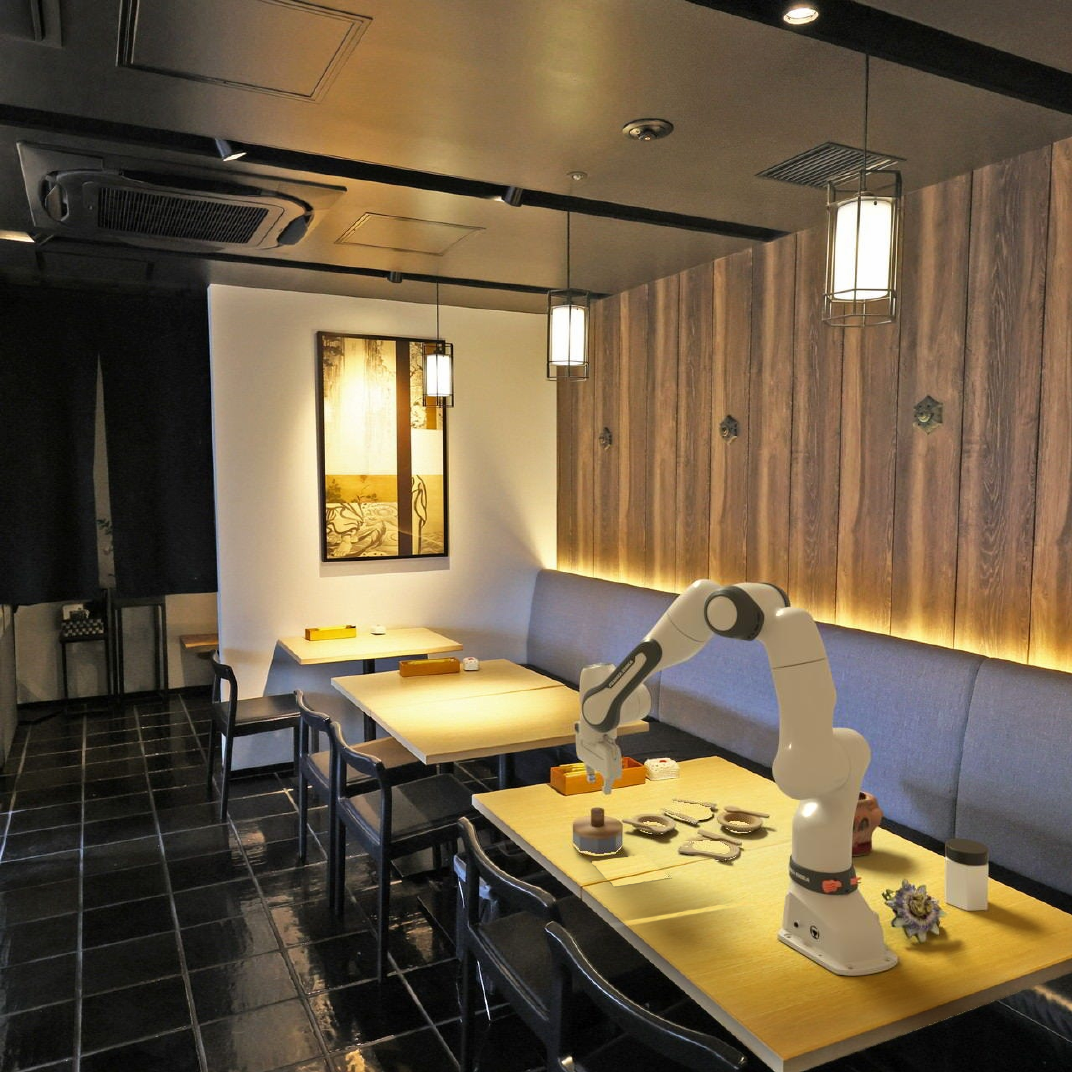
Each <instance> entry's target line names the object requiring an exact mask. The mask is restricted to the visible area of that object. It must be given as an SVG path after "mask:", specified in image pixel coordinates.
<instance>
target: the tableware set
mask: <svg viewBox="0 0 1072 1072" xmlns="http://www.w3.org/2000/svg"><path fill="white" fill-rule="evenodd" d="M677 799H679V800H677ZM672 800H673V801H678V802H684V803H690V804H700V805H702V806H705V807H711V809H716V807H717V805H718V804H717V803H713V802H697V801H692V800H686V799H680V798H672V799H671V801H672ZM659 810H663V811H665V812H668V813H669V814H671V815H676V816H678V817H680V818H682V819H685V820H688V821H690V822H693V823H694V824H695V823H699V821H698V820H696V819H694V818H692V817H689V816H687V815H684V814H681V813H679V814H678V813H674V812H672V811H670V810H667V809H665V808H664V807H661V808H660V809H659ZM723 810H724V811H723V812H720V813H719V814H718V815H716V821H717V823H719V824H720V825H721V826H723V827H726V828H728V829H729V830H733V831H737V832H749V831H752V830H753V831H754V830H756V829H759V828H760V827H762V826H763V818H764V819H769V818H771V817H770V816H771V815H770V814H768V813H763V812H760V811H759V812H758V811H753V810H747V809H742V808H740V807H737V806H734V805H725V806H723ZM621 821H622V822H621V823H622V824H627V825H630V826H632V827H633V828H635V829H637V830H638V829H639V830H642V831H645V832H648V833H652V834H661V833H665V832H667V831H668V832H670V831H672V830H674V829H675V828H676V827H677V822H676V821H675V819H674V818H671V817H669V816H668V815H663V814H657V813H641V814H637V815H634V816H632V817H631V818H630V819H629V818H622V819H621ZM647 821H649V822H657V823H660V824H662V825H665V826H666V827H663V826H657V825H648V824H644V823H643V822H647ZM730 821H740V822H745V823H747V824H749V825H737V824H732V823H729V822H730ZM694 824H693V825H694ZM726 828H725V829H726ZM639 830H638V831H639ZM668 832H667V833H668ZM665 834H666V833H665ZM697 834H698V835H701V836H693V837H694V838H693V837H690V838H691V839H690V838H688V839H686V840H685V841H689V842H687V843H684V842H683V843H684V844H683V843H682V845H680V846H679V847H678V849H677V852H678V853H681V854H686V855H693V856H696V857H700V858H704V859H710V860H711V859H713V860H714V861H716V860H724V861H729V859H730V858H733V857H735V856H737V857H738V856H739V854H740V847H742V846H743V842H742V841H740V840H736V839H734V838H731V837H726V836H723V835H721V834H717V833H715V832H712V831H708V830H704V829H698V830H697ZM695 837H696V838H695ZM703 840H710V841H720V842H722V843H724V844H725V845H727V846H729V848H730V851H729V852H728V853H726V854H722V853H714V852H707V851H703V850H700V849H699V850H698V849H695V848H693V844H694V842H693V843H692V841H703ZM690 841H691V843H690ZM685 846H688V847H685ZM735 858H736V857H735ZM725 859H726V860H725ZM733 859H734V858H733ZM730 860H731V859H730Z"/></svg>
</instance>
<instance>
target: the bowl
mask: <svg viewBox="0 0 1072 1072" xmlns="http://www.w3.org/2000/svg"><path fill="white" fill-rule="evenodd" d="M623 833H624V832H622V833H621V834H620V835H619V836H617V837H614V838H610V839H588V838H584V837H581V836H579V835H577V834H575V833H574V832H573V831H572V844H573V843H574V844H575V845H576V846H577V847H578V848H579V850H580V851H588V852H591V853H595V854H604V853H611V852H616V851H617V850H618V849H619V848H620V847H621V846H622V845H623V843H624V842H623V837H624V836H623ZM622 847H623V846H622Z"/></svg>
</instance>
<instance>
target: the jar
mask: <svg viewBox="0 0 1072 1072" xmlns="http://www.w3.org/2000/svg"><path fill="white" fill-rule="evenodd" d="M944 843H945V845H944V851H945V853H944V854H945V865H944V866H945V867H944V869H945V870H944V872H945V873H944V901H945V904H948V905H951V906H952V907H953V906H954V907H956V908H958V909H960V910H963V911H966V912H970V911H971V912H972V911H973V912H974V911H988V902H989V901H988V898H989V859H990V858H989V856H990V854H989V852H990V851H989V848H988V847H987V845H985V844H984V843H982V842H979V841H976V840H971V839H967V838H950V839H947V840H946V841H945V842H944Z"/></svg>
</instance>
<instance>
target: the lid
mask: <svg viewBox="0 0 1072 1072" xmlns="http://www.w3.org/2000/svg"><path fill="white" fill-rule="evenodd" d="M623 827H624V825H623V822H621V821H620V820H618V819H616V818H614V817H611V816H606V815H605V809H604V808H602V807H592V808H590V815H586V816H581V817H579V818H576V819H575V820H573V822H572V833H573V832H574V833H575V834H577V835H579V836H581V837H584V838H588V839H610V838H614V837H617V836H619V835H620V834H621V833H622V832H623V830H624V829H623ZM623 833H624V832H623Z"/></svg>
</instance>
